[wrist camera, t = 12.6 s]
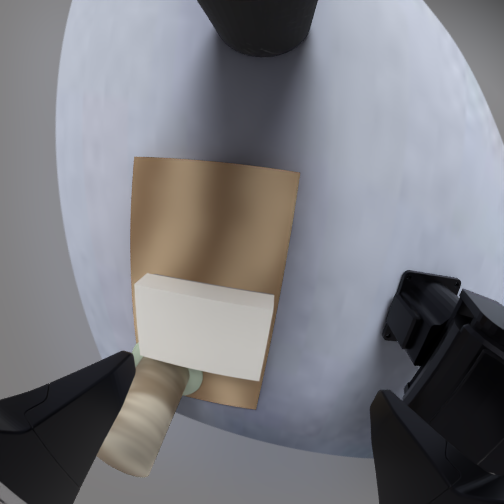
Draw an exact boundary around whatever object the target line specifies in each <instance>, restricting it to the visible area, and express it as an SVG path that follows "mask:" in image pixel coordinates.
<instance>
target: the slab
mask: <svg viewBox="0 0 504 504" xmlns="http://www.w3.org/2000/svg"><path fill="white" fill-rule="evenodd" d="M134 289H135V306H136V319H137V330H138V340H139V349H140V355H141V356H144V357H148V358H151V359H155V360H159V361H162V362H166V363H170V364H174V365H178V366H182V367H186V368H191V369H195V370H200V371H204V372H209V373H214V374H219V375H224V376H230V377H235V378H241V379H248V380H254V381H259V380H260V375H261V370H262V365H263V360H264V355H265V350H266V345H267V340H268V335H269V330H270V325H271V320H272V314H273V308H274V294H269V293H263V292H256V291H250V290H244V289H238V288H232V287H226V286H220V285H214V284H208V283H202V282H197V281H191V280H186V279H180V278H175V277H170V276H164V275H159V274H149V273H147V274H145V275H144V276H143V277H142V278H141V279H140V280H138V281H137V282H136V283H135V284H134Z"/></svg>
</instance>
